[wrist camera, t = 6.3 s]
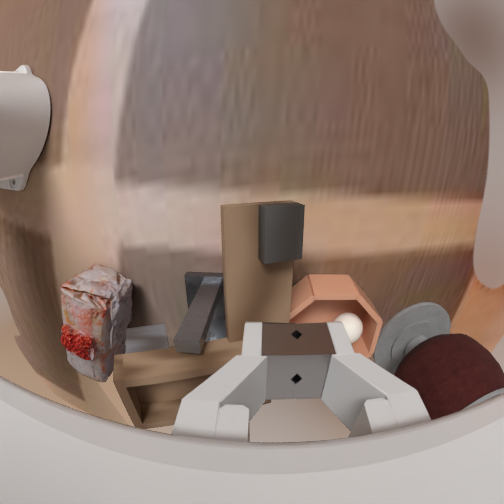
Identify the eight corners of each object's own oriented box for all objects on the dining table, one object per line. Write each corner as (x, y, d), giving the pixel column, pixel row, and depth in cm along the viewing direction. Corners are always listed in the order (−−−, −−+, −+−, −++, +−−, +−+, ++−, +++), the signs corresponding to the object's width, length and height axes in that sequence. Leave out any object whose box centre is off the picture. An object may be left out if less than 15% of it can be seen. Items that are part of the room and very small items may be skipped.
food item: (89, 251, 31) (40, 285, 22) (143, 271, 31) (102, 315, 22) (90, 333, 36) (56, 374, 26) (136, 353, 36) (108, 401, 27)
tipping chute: (132, 371, 27) (136, 429, 19) (94, 207, 20) (69, 233, 13) (262, 347, 32) (294, 394, 24) (265, 191, 25) (313, 208, 18)
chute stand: (196, 348, 34) (173, 416, 24) (186, 271, 31) (148, 331, 20) (242, 352, 34) (232, 423, 23) (240, 273, 30) (225, 338, 20)
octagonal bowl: (273, 353, 34) (273, 378, 30) (277, 273, 30) (278, 293, 26) (358, 351, 33) (366, 374, 29) (375, 274, 29) (389, 293, 25)
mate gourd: (382, 389, 36) (417, 497, 17) (352, 333, 32) (399, 475, 13) (465, 338, 32) (526, 427, 13) (453, 270, 28) (552, 366, 10)
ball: (350, 329, 32) (324, 335, 31) (355, 304, 31) (328, 309, 30) (364, 346, 29) (337, 353, 28) (371, 320, 27) (343, 327, 27)
